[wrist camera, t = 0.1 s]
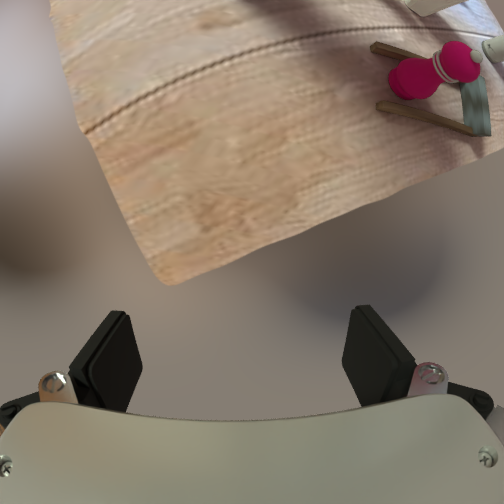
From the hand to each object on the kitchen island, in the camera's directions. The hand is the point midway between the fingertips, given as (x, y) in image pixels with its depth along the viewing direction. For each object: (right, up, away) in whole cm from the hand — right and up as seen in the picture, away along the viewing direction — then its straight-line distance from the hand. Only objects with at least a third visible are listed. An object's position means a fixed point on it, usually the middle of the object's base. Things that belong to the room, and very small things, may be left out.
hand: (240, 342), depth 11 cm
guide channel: (+32, +33, +24) cm, 52 cm away
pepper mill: (+26, +33, +24) cm, 48 cm away
